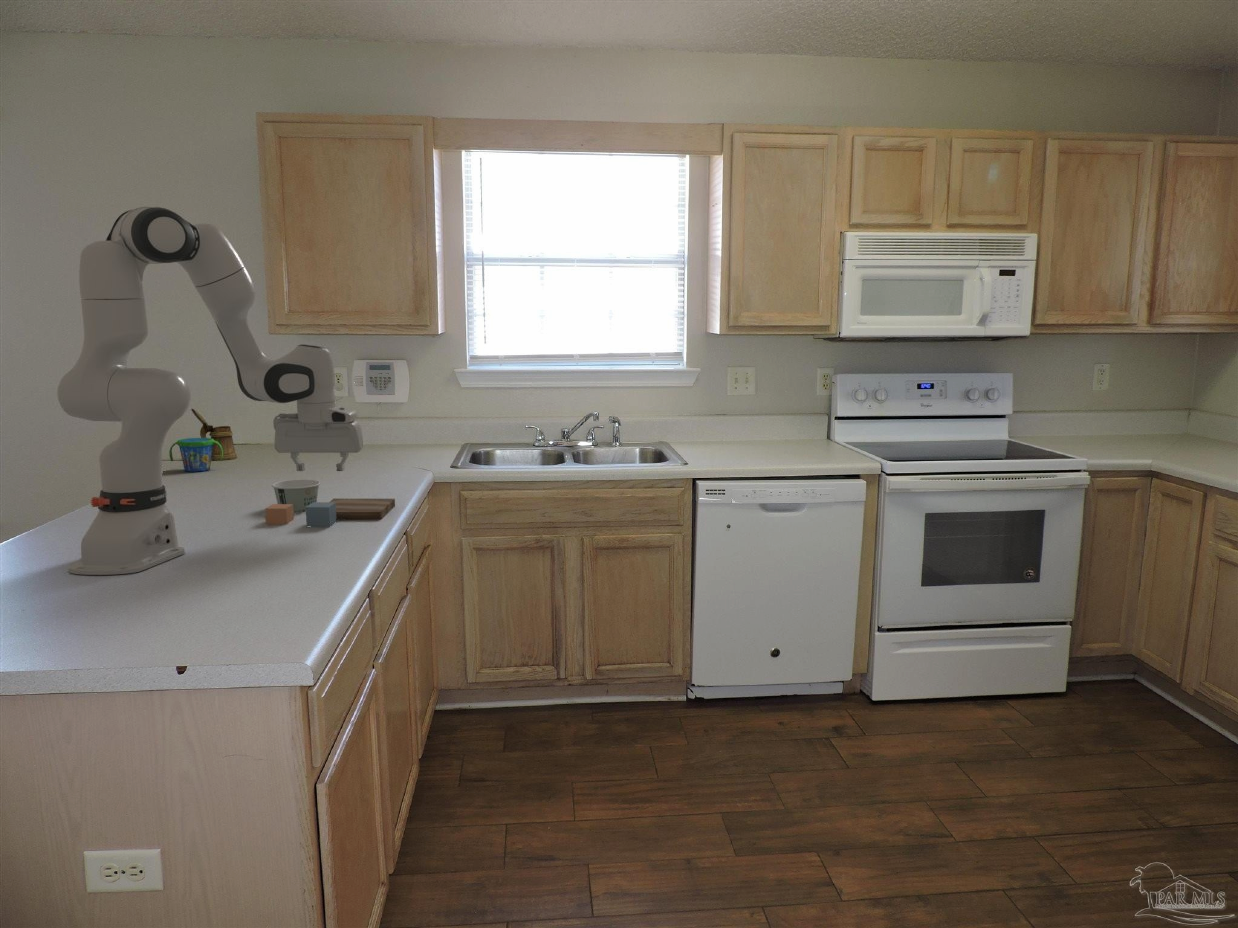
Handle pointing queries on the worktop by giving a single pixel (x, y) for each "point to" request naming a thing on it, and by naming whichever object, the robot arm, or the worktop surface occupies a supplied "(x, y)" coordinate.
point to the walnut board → (363, 508)
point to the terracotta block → (279, 513)
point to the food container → (296, 493)
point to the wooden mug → (218, 439)
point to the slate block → (321, 514)
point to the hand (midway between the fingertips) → (320, 470)
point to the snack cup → (196, 453)
